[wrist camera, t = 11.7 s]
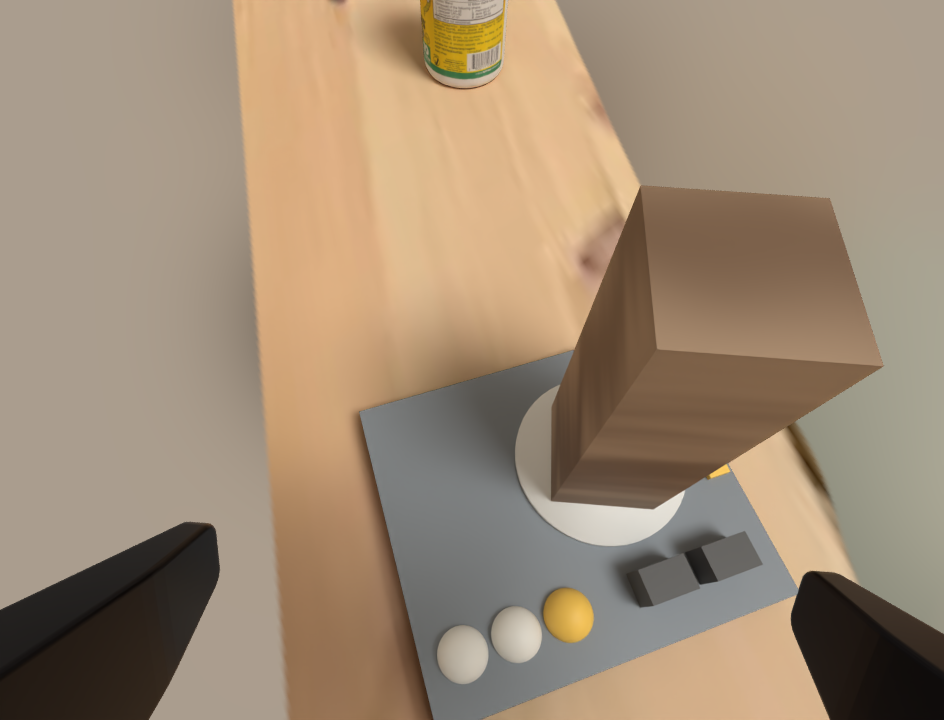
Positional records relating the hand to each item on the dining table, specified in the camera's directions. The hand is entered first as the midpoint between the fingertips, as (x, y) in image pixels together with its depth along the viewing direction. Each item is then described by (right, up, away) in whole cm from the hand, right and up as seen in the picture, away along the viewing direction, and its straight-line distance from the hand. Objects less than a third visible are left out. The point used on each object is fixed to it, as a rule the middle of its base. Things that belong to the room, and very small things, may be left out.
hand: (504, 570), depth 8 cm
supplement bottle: (-1, +23, +27) cm, 36 cm away
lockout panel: (+3, -3, +14) cm, 15 cm away
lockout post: (+5, -1, +13) cm, 14 cm away
